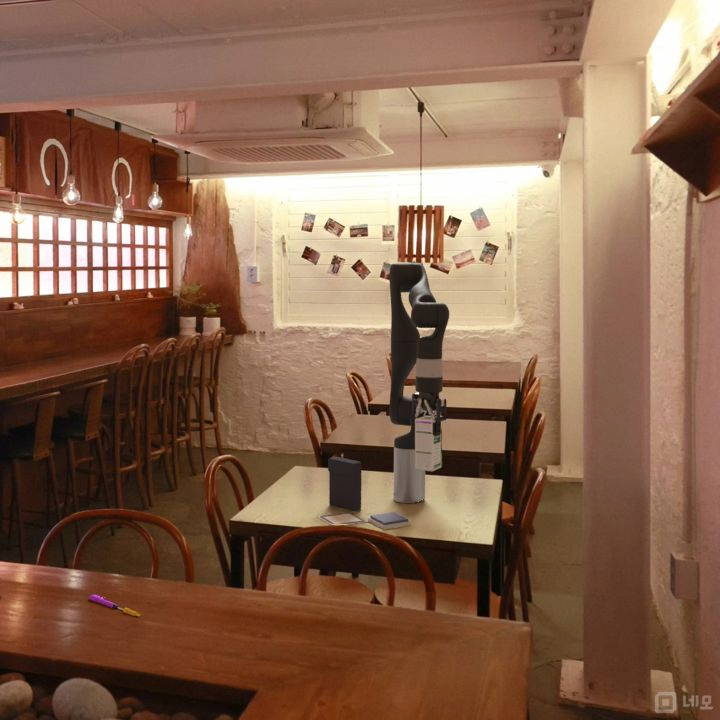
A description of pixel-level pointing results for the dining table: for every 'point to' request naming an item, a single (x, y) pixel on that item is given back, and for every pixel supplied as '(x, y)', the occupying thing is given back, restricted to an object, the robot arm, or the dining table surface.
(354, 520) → the marked card
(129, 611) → the purple and yellow stick
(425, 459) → the syrup box
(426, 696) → the dining table surface
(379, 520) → the ink pad
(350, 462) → the dark grey upright block
